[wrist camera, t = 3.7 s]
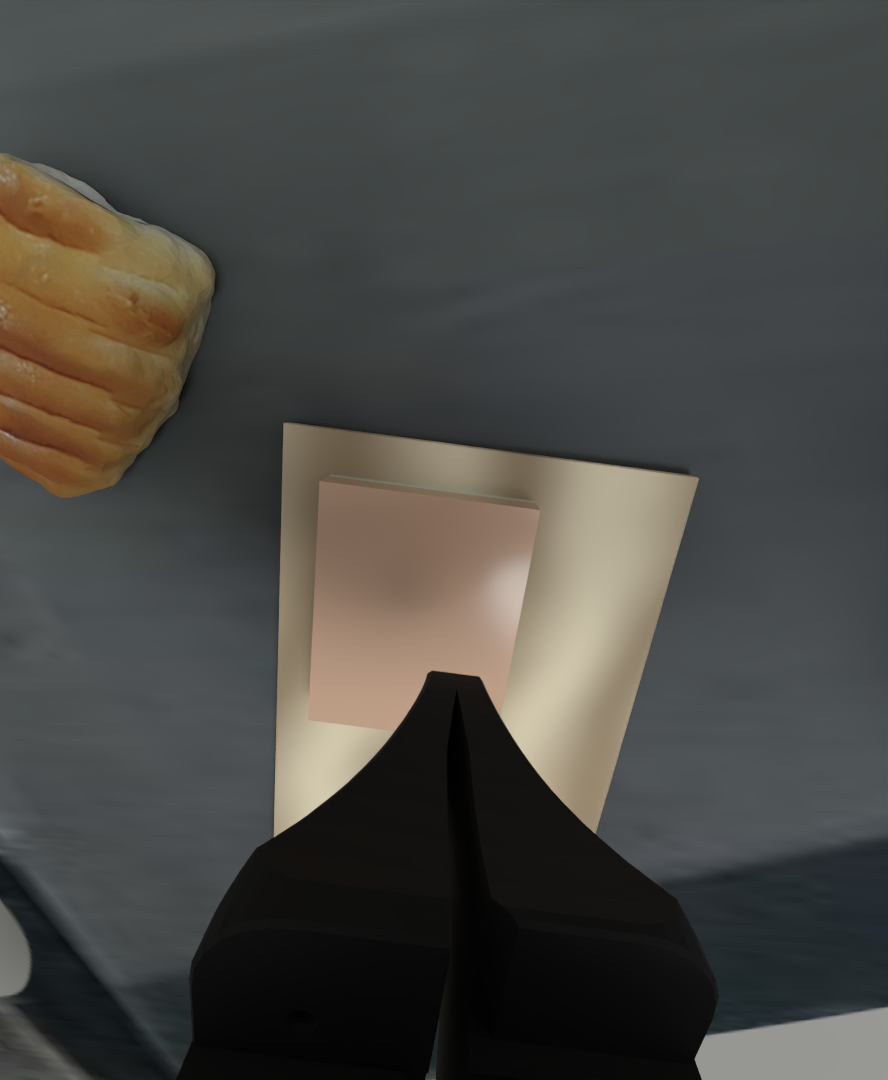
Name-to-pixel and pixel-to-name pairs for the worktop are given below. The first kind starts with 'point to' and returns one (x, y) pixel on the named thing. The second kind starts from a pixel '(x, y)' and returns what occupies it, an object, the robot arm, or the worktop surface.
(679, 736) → the worktop surface
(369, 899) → the robot arm
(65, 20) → the worktop surface
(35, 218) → the pastry
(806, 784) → the worktop surface
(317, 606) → the tile
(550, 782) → the board
